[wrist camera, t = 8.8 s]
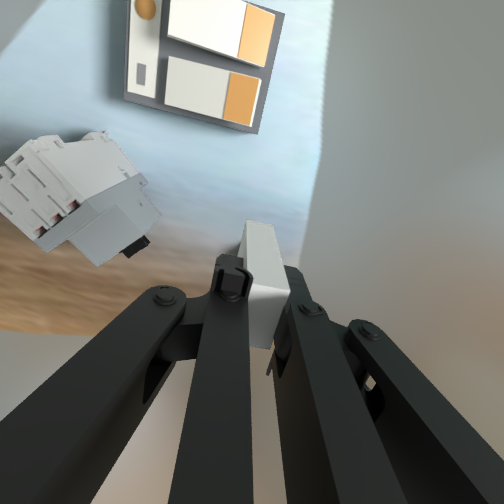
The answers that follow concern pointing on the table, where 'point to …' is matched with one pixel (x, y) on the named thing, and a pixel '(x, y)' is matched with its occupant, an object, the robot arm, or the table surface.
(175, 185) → the table surface
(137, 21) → the switch unit
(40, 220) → the circuit breaker
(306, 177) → the table surface
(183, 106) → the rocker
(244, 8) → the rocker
